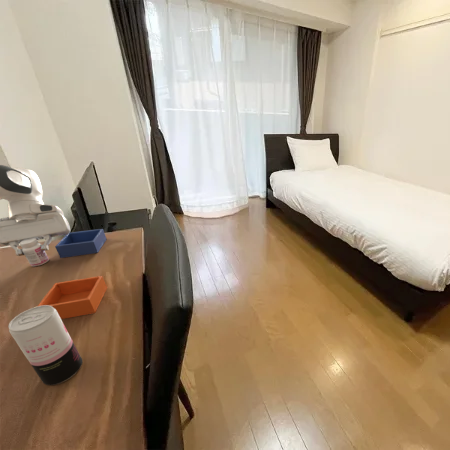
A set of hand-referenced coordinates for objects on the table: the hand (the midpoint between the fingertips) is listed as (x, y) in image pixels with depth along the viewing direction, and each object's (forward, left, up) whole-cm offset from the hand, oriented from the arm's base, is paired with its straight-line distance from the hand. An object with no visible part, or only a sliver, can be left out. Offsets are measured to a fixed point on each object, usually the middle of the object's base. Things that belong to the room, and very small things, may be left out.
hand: (33, 252), depth 88 cm
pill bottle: (0, +1, -5) cm, 5 cm away
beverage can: (+25, -47, -5) cm, 54 cm away
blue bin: (+11, +8, -5) cm, 14 cm away
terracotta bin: (+20, -25, -5) cm, 32 cm away
